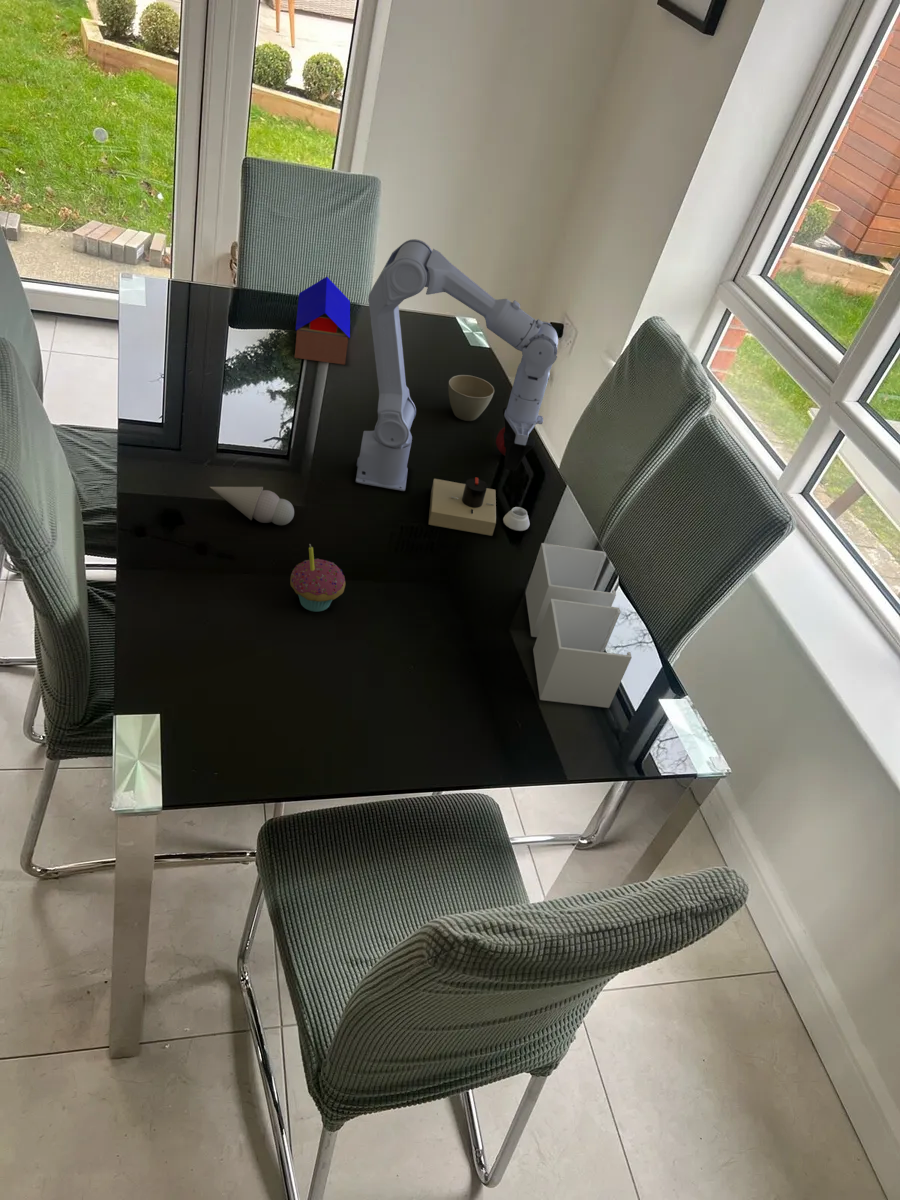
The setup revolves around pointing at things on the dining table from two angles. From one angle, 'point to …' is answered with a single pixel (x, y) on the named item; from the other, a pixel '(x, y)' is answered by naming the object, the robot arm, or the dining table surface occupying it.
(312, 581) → the cupcake
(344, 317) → the house
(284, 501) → the ice cream cone
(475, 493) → the knob
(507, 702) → the dining table surface
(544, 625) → the storage container
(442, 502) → the panel
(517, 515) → the white jar
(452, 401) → the flower pot
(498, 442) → the onion
